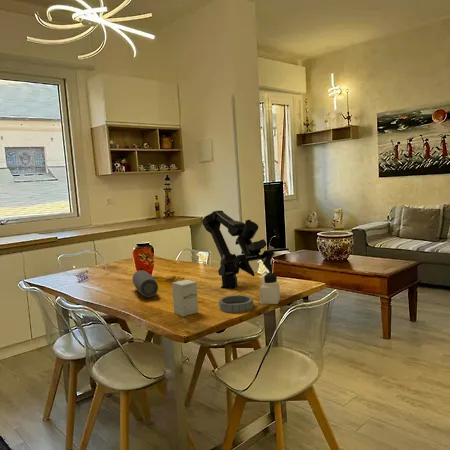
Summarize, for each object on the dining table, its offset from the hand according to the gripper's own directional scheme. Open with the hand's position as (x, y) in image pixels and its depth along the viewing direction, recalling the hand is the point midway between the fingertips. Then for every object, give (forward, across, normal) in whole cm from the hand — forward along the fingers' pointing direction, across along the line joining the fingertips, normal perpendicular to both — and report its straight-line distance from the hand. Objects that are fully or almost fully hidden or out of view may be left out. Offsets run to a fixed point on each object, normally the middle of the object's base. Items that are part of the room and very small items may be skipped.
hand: (262, 273), depth 183 cm
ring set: (-63, -46, +78) cm, 111 cm away
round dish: (+9, -15, +7) cm, 19 cm away
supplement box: (+4, -34, +12) cm, 36 cm away
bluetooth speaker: (-25, -36, +40) cm, 60 cm away
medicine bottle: (+11, 0, +5) cm, 12 cm away
